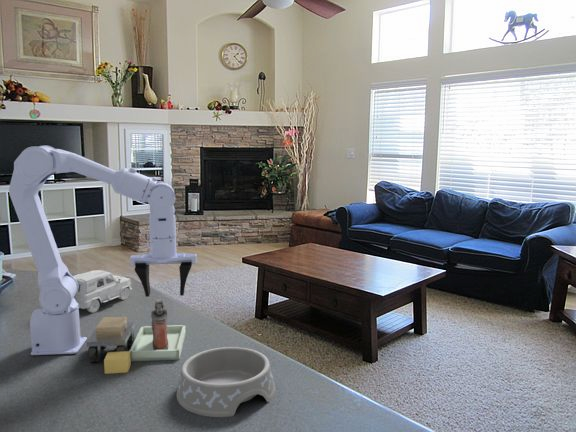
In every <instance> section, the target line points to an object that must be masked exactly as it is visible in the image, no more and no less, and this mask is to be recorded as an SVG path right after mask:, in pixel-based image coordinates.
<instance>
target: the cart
mask: <svg viewBox="0 0 576 432" xmlns="http://www.w3.org/2000/svg"><path fill="white" fill-rule="evenodd" d="M135 327H136V326H135V322H128V317H127V316H105V317H102V319H100V321H99V323H97V325H96V327H95V330H94V331H93V332H92V333H91V335H90V337H89V338H87V340H86V347H87V359H88V361H89V362H91V363H92V362H94V363H95V362H99V361H100V356H101V348H107V347H110V346H111V347H112V346H114V347H115V346H116V350H115V352H123V351H129V350H128V349H129V347H132V345H133V343H134V341H135V330H134V328H135Z"/></svg>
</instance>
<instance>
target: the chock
mask: <svg viewBox="0 0 576 432" xmlns="http://www.w3.org/2000/svg"><path fill="white" fill-rule="evenodd" d="M131 362H132V361H131V358H130V350H128V351H123V352H116V351H109V352H108V351H107V353H106V355H105V357H104V359H103V365H104V368H103V369H104V374H106V375H107V374H119V373H120V374H121V373H122V374H124V373H129V370H130V367H131V364H132V363H131Z"/></svg>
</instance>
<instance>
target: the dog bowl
mask: <svg viewBox="0 0 576 432" xmlns="http://www.w3.org/2000/svg"><path fill="white" fill-rule="evenodd" d="M276 389H277V388H276V384H275V380H274V376H273V372H272V367H271V364H270V360H269V359H268V357H267V356H266V355H265V354H263V353H261V352H260V351H257V350H255V349H252V348H247V347H246V348H245V347H241V346H223V347H215V348H211V349H206V350H204V351H201V352H198V353H196V354H194V355H191V356H190V357H188V358H187V359H186V360H185V361H184V362H183V364H182V366H181V369H180V376H179V381H178V387H177V390H176V394H175V395H176V400H177V402H178V404H179V405H180V406H181V407H182V408H183V409H184V410H186V411H188V412H191V413H193V414H195V415H196V414H197V415H199V416H205V417H210V418H211V417H213V418H228V417H233V416H235V414H236V412H237V409H238V407H239V406H240V404H241V403H242V404H243V403H245V402H247V401H251V400H252V399H253V398H255V397H256V396H257V395H259V396H262V397H263V398H264V399H265V401H266V402H267V403H270V402H271V400H272V399H273V398H274V396H275V394H276V391H277V390H276Z"/></svg>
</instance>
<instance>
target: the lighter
mask: <svg viewBox="0 0 576 432" xmlns="http://www.w3.org/2000/svg"><path fill="white" fill-rule="evenodd" d="M150 318H151V326H152V331H153V342H152V344H153V350H168V339H167V326H168V322H167V321H168V311H167V309H166V307H165V305H164V303H163V300H162V299H156V300H155V304H154V308H152V310H151V314H150Z"/></svg>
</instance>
